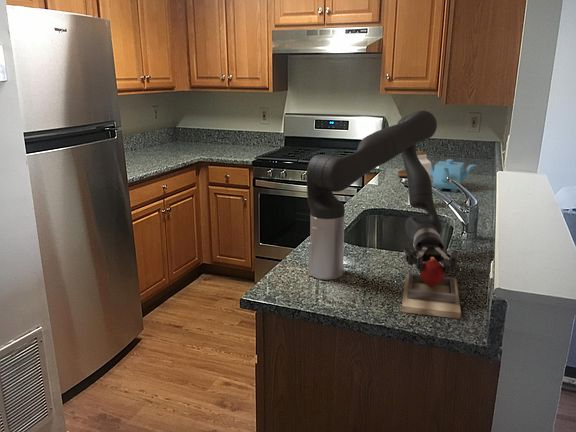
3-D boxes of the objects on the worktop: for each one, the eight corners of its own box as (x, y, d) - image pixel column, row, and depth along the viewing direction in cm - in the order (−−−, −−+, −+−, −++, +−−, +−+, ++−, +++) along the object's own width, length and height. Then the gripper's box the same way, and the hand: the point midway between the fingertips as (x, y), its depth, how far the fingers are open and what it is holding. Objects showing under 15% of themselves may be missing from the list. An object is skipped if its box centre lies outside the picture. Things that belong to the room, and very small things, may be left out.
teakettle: (451, 184, 246) (453, 155, 242) (476, 191, 229) (479, 161, 225) (419, 187, 240) (421, 158, 236) (443, 195, 223) (445, 163, 219)
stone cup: (424, 175, 270) (426, 148, 266) (426, 179, 258) (428, 151, 254) (396, 174, 272) (398, 148, 268) (397, 178, 261) (399, 151, 257)
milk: (407, 205, 205) (410, 154, 199) (418, 204, 208) (421, 153, 202) (418, 208, 200) (421, 156, 194) (428, 206, 203) (432, 155, 197)
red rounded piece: (438, 281, 122) (441, 252, 119) (446, 291, 116) (449, 261, 114) (416, 282, 122) (418, 253, 119) (423, 292, 116) (425, 261, 114)
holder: (401, 311, 112) (402, 298, 111) (405, 278, 130) (406, 266, 129) (460, 318, 109) (461, 304, 108) (455, 283, 127) (456, 271, 126)
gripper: (401, 230, 131) (404, 252, 115) (456, 232, 128) (467, 255, 112) (400, 255, 133) (402, 281, 117) (454, 259, 130) (464, 285, 114)
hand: (434, 268), depth 115 cm, fingers closed on red rounded piece, 5 cm apart
